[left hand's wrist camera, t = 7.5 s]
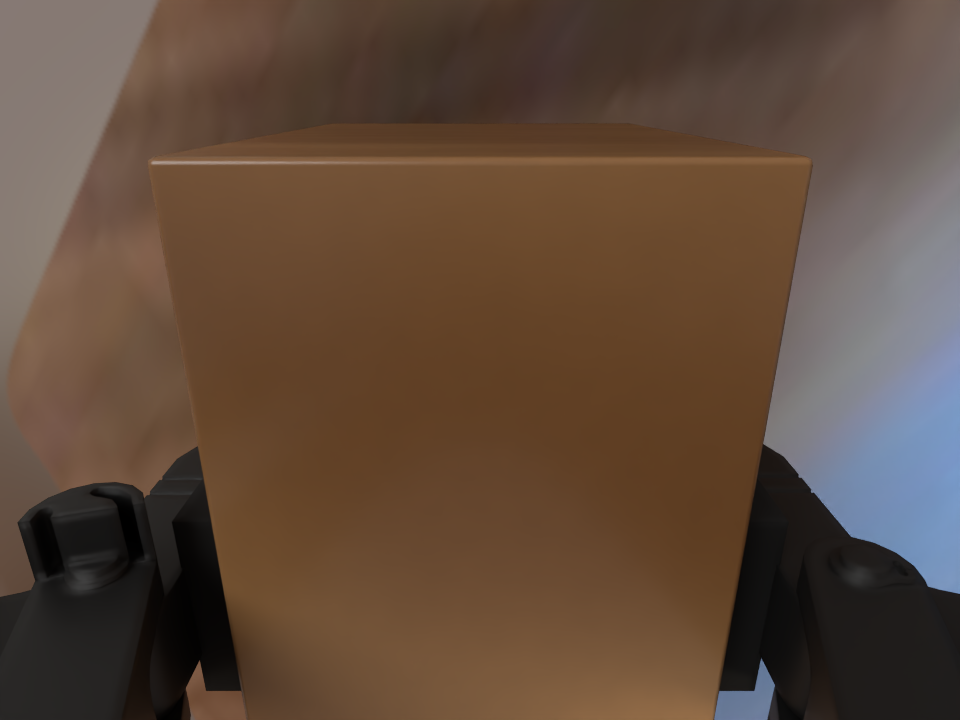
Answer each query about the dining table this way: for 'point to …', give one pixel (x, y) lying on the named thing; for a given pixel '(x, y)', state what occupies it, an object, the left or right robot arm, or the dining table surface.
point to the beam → (480, 408)
